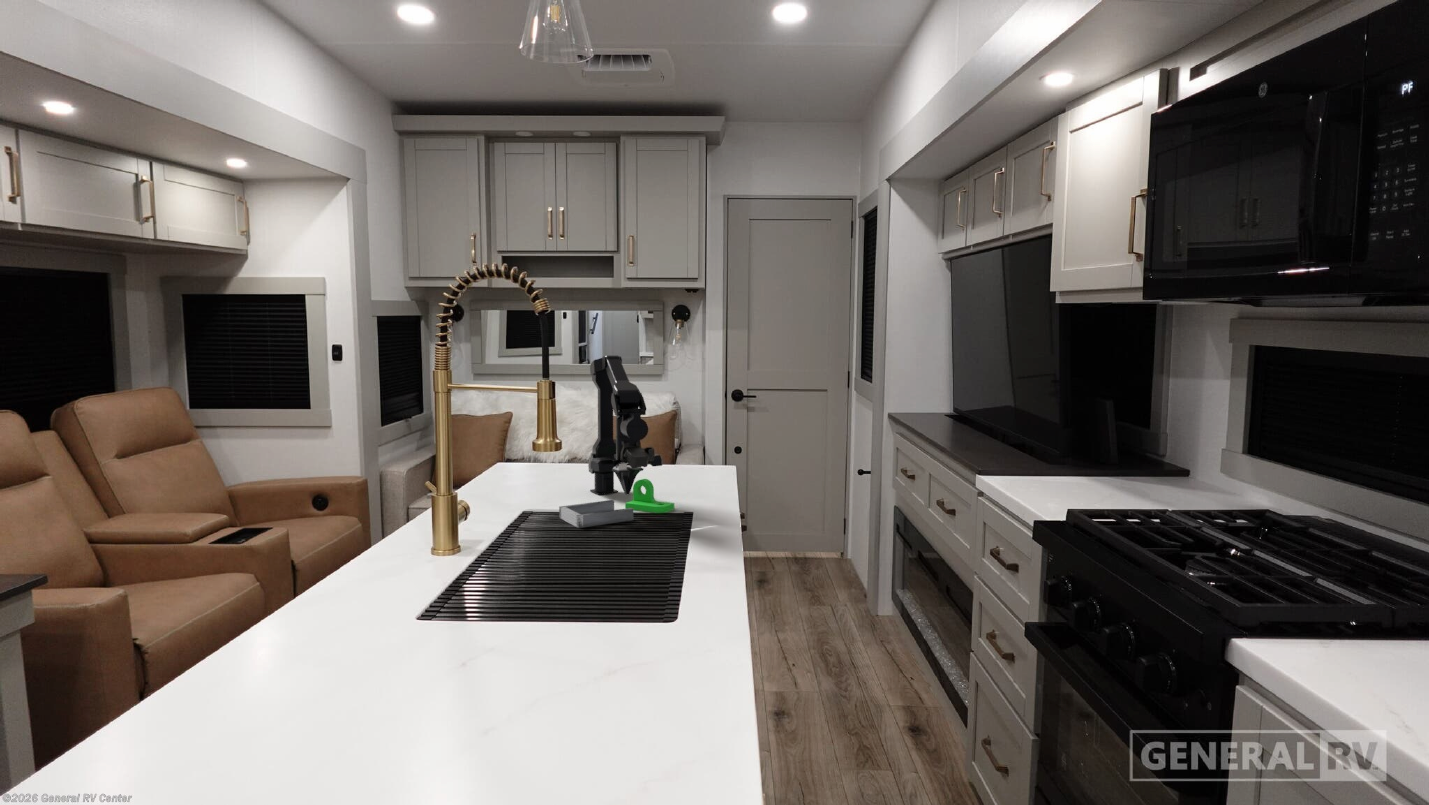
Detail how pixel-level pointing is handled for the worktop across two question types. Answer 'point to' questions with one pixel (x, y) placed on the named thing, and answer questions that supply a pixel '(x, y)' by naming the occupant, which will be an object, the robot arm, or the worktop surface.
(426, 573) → the worktop surface
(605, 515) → the seating bracket
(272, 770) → the worktop surface
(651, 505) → the mechanical part
